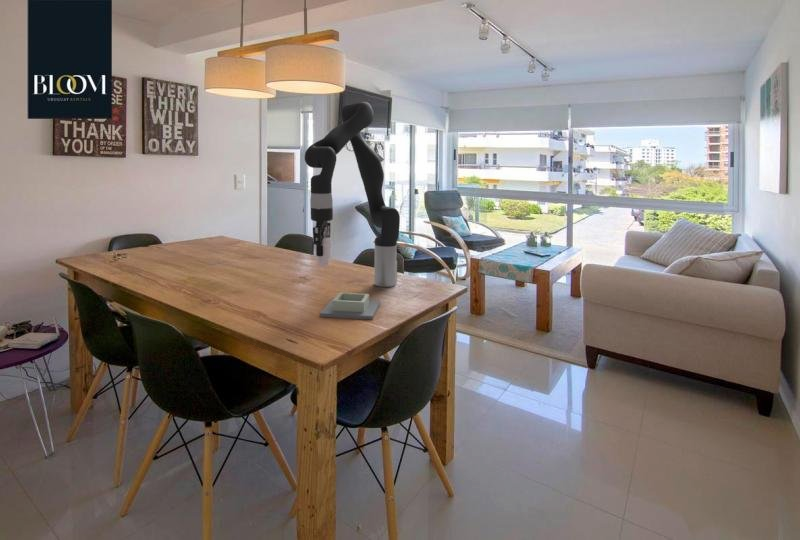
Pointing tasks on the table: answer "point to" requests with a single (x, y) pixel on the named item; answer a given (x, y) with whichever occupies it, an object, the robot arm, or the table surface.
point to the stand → (351, 306)
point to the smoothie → (324, 252)
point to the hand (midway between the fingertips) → (322, 254)
